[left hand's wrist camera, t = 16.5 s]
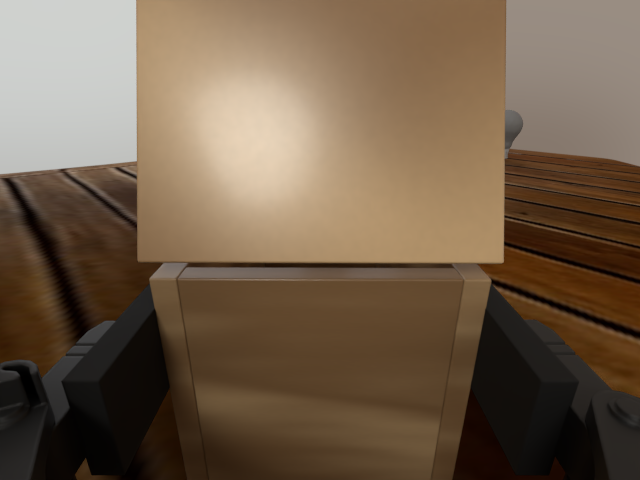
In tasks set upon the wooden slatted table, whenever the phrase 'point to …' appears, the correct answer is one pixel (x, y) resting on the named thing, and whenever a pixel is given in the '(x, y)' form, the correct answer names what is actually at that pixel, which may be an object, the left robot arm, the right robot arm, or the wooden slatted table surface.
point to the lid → (321, 131)
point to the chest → (319, 367)
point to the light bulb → (511, 128)
